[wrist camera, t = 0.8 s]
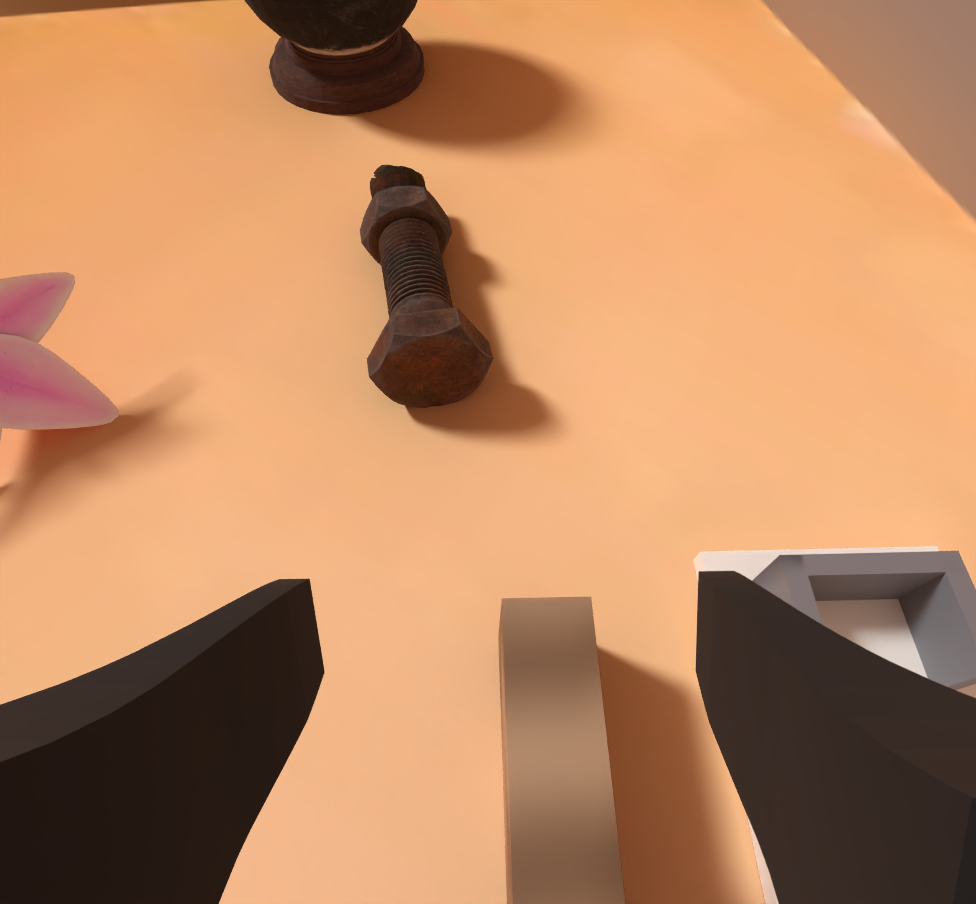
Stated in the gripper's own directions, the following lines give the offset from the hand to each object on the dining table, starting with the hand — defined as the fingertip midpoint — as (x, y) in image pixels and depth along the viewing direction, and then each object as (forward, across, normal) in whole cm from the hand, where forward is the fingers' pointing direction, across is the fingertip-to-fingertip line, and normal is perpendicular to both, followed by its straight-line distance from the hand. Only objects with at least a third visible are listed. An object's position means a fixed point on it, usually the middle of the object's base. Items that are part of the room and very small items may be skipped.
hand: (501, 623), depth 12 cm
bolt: (+26, +6, -5) cm, 27 cm away
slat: (+6, 0, +14) cm, 15 cm away
